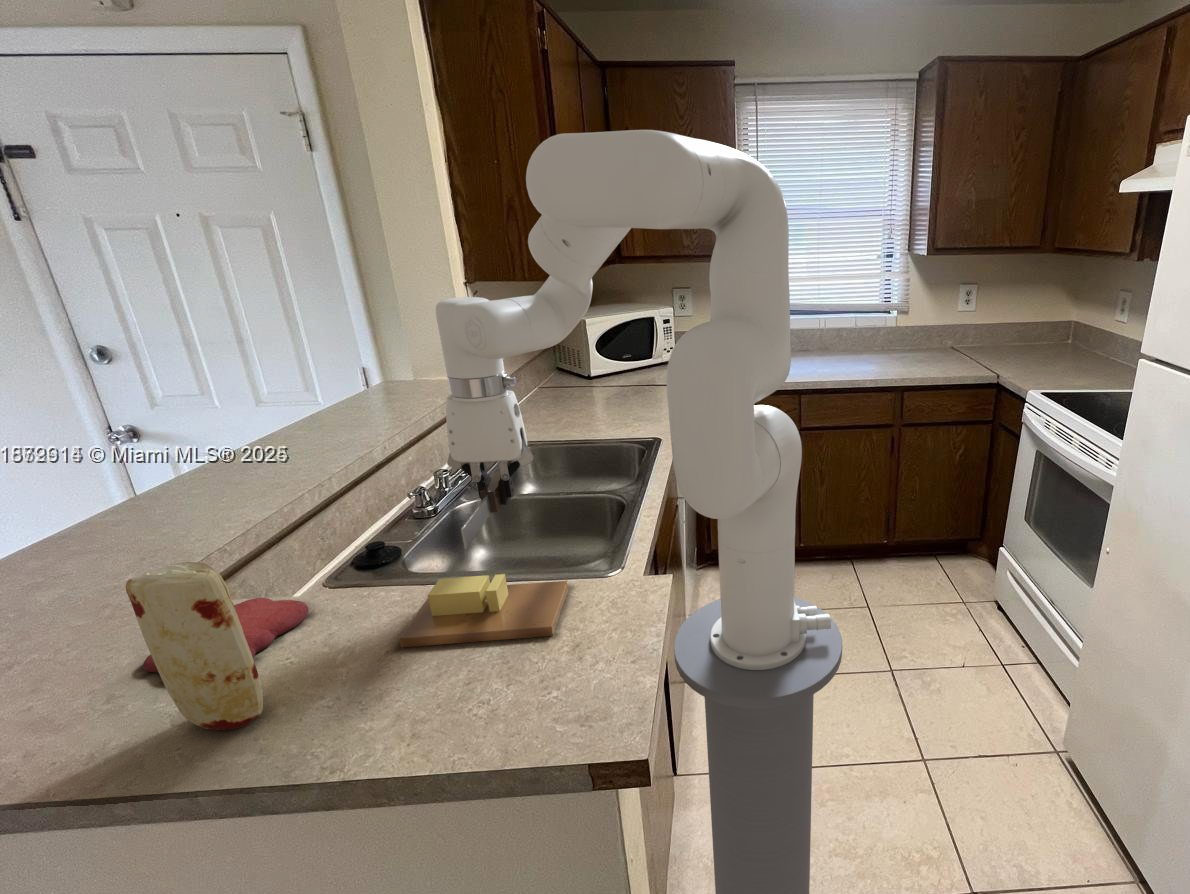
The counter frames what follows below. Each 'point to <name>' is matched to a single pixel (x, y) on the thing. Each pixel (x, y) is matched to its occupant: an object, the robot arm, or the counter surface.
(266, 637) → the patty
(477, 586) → the butter
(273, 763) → the counter surface
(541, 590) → the cutting board
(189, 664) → the food model
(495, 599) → the butter pat
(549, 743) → the counter surface
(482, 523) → the knife
